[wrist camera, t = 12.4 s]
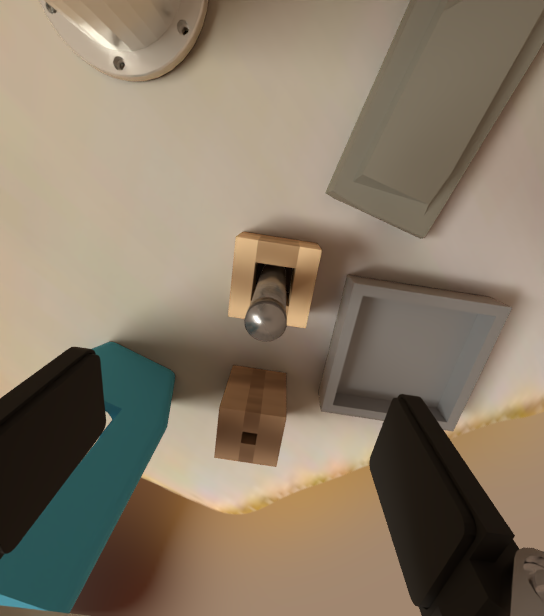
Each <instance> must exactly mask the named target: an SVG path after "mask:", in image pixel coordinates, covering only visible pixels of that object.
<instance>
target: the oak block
mask: <svg viewBox="0 0 544 616" xmlns="http://www.w3.org/2000/svg"><path fill="white" fill-rule="evenodd" d="M321 252H322V250H321V248H320V247H319V245H318V244H317V243H312V242H306V241H300V240H293V239H287V238H281V237H274V236H268V235H261V234H255V233H249V232H242V233H240V234H239V235H238V236H236V241H235V251H234V261H233V271H232V281H231V291H230V301H229V311H228V316H229V317H235V318H242V319H245V316H246V313H247V310H248V308H249V306H250V304H251V301H252V298H253V295H254V292H255V289H256V288H255V284H256V276H257V269H258V263H264V264H270V265H277V266H283V267H290V268H293V271H292V277H291V282H290V288H289V293H288V292H286V313H287V326H294V327H300V328H306V324H307V319H308V315H309V310H310V305H311V300H312V295H313V291H314V286H315V281H316V276H317V271H318V267H319V262H320V257H321Z"/></svg>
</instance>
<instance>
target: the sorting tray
mask: <svg viewBox="0 0 544 616" xmlns="http://www.w3.org/2000/svg"><path fill="white" fill-rule="evenodd" d="M511 309H512V307H510V306H508V305H506V304H504V303H501V302H499V301H497V300H495V299H493V298H491V297H487V296H481V295H474V294H468V293H462V292H455V291H449V290H442V289H436V288H429V287H423V286H417V285H410V284H404V283H397V282H391V281H384V280H378V279H372V278H365V277H359V276H352V275H347V279H346V283H345V287H344V291H343V295H342V299H341V303H340V307H339V311H338V315H337V319H336V323H335V327H334V331H333V335H332V339H331V343H330V347H329V351H328V355H327V359H326V363H325V368H324V372H323V376H322V380H321V384H320V388H319V392H318V395H319V401H320V407H321V411H322V412H329V413H336V414H342V415H349V416H355V417H362V418H369V419H375V420H382V421H384V420H385V417H386V414H387V412H388V409H389V406H390V404H391V401H392V399H393V398H397V397H398V396H399V395H400V394H406V395H413V396H419V397H421V398H422V399H423V401H424V402H425V404H426V405H427V407H428V408H429V410H430V411H431V413H432V414H433V416H434V417H435V419H436V420H437V422H438V423H439V424H440V426H441V427H442V429H443V430H448V431H454V428H455V426H456V424H457V422H458V420H459V418H460V416H461V414H462V412H463V410H464V408H465V405H466V403H467V401H468V399H469V397H470V395H471V393H472V391H473V389H474V387H475V385H476V383H477V380H478V378H479V376H480V374H481V372H482V370H483V368H484V366H485V364H486V362H487V360H488V357H489V355H490V353H491V351H492V349H493V347H494V345H495V343H496V341H497V339H498V337H499V334H500V332H501V330H502V328H503V326H504V324H505V322H506V320H507V318H508V316H509V314H510V311H511Z"/></svg>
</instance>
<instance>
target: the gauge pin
mask: <svg viewBox="0 0 544 616" xmlns="http://www.w3.org/2000/svg"><path fill="white" fill-rule="evenodd" d="M286 326H287V313H286V271H285V268H284V267H283V266H277V265H270V264H266V265H265V266H264V267H263V269H262V272H261V275H260V278H259V281H258V284H257V286H256V289H255V292H254V295H253V298H252V301H251V304H250V306H249V308H248V310H247V313H246V316H245V327H246V330H247V331H248V333H249V334H250V335H251V336H252V337H253V338H255V339H257V340H260V341H273V340H275V339H277V338H279V337H280V336H281V335H282V334H283V333H284V331H285V329H286Z"/></svg>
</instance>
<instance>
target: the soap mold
mask: <svg viewBox="0 0 544 616" xmlns="http://www.w3.org/2000/svg"><path fill="white" fill-rule="evenodd" d="M543 43H544V0H411V1H410V3H409V5H408V7H407V10H406V12H405V14H404V16H403V19H402V21H401V23H400V25H399V28H398V30H397V32H396V34H395V37H394V39H393V41H392V43H391V46H390V48H389V50H388V52H387V55H386V57H385V59H384V61H383V64H382V66H381V68H380V70H379V73H378V75H377V77H376V79H375V82H374V84H373V86H372V88H371V91H370V93H369V95H368V97H367V99H366V102H365V104H364V106H363V108H362V111H361V113H360V115H359V117H358V120H357V122H356V124H355V127H354V129H353V131H352V133H351V136H350V138H349V140H348V143H347V145H346V147H345V149H344V152H343V154H342V156H341V159H340V161H339V163H338V165H337V168H336V170H335V172H334V174H333V177H332V179H331V181H330V184H329V186H328V188H327V190H326V194H328V195H330V196H331V197H333V198H334V199H336V200H339V201H341V202H343V203H345V204H348V205H350V206H352V207H354V208H356V209H359V210H361V211H363V212H365V213H367V214H369V215H371V216H373V217H376V218H378V219H380V220H382V221H384V222H386V223H388V224H390V225H393V226H395V227H397V228H399V229H401V230H403V231H405V232H407V233H410V234H412V235H414V236H416V237H418V238H420V239H421V238H425V237H426V235H427V233H428V232H429V230H430V228H431V227H432V225H433V223H434V222H435V220H436V218H437V217H438V215H439V214H440V212H441V210H442V209H443V207H444V205H445V204H446V202H447V200H448V199H449V197H450V196H451V194H452V192H453V191H454V189H455V187H456V186H457V184H458V182H459V181H460V179H461V178H462V176H463V174H464V173H465V171H466V169H467V168H468V166H469V164H470V163H471V161H472V159H473V158H474V156H475V155H476V153H477V151H478V150H479V148H480V146H481V145H482V143H483V141H484V140H485V138H486V137H487V135H488V133H489V132H490V130H491V128H492V127H493V125H494V123H495V122H496V120H497V119H498V117H499V115H500V114H501V112H502V110H503V109H504V107H505V105H506V104H507V102H508V101H509V99H510V97H511V96H512V94H513V92H514V91H515V89H516V87H517V86H518V84H519V82H520V81H521V79H522V78H523V76H524V74H525V73H526V71H527V69H528V68H529V66H530V64H531V63H532V61H533V60H534V58H535V56H536V55H537V53H538V51H539V50H540V48H541V46H542V45H543Z"/></svg>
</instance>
